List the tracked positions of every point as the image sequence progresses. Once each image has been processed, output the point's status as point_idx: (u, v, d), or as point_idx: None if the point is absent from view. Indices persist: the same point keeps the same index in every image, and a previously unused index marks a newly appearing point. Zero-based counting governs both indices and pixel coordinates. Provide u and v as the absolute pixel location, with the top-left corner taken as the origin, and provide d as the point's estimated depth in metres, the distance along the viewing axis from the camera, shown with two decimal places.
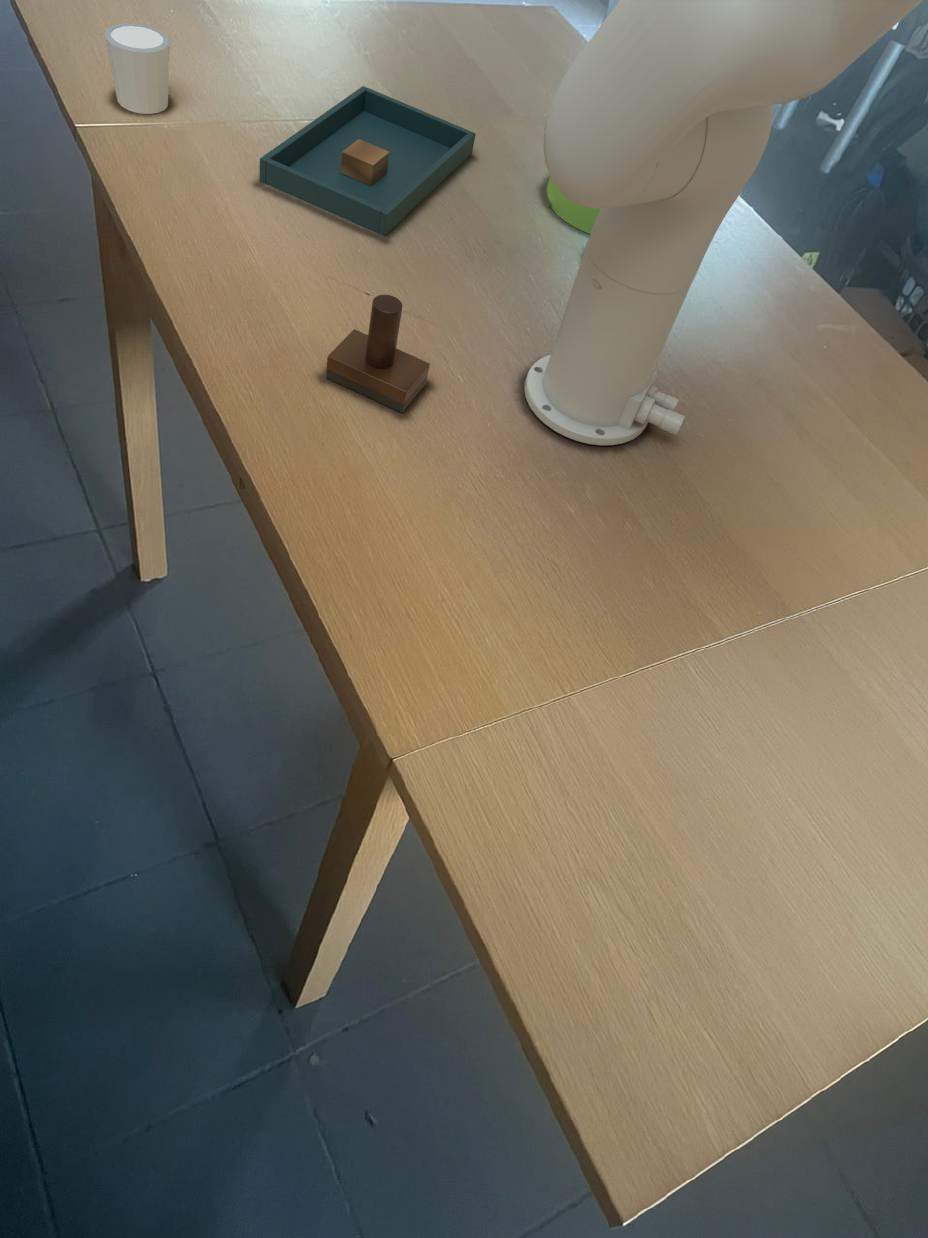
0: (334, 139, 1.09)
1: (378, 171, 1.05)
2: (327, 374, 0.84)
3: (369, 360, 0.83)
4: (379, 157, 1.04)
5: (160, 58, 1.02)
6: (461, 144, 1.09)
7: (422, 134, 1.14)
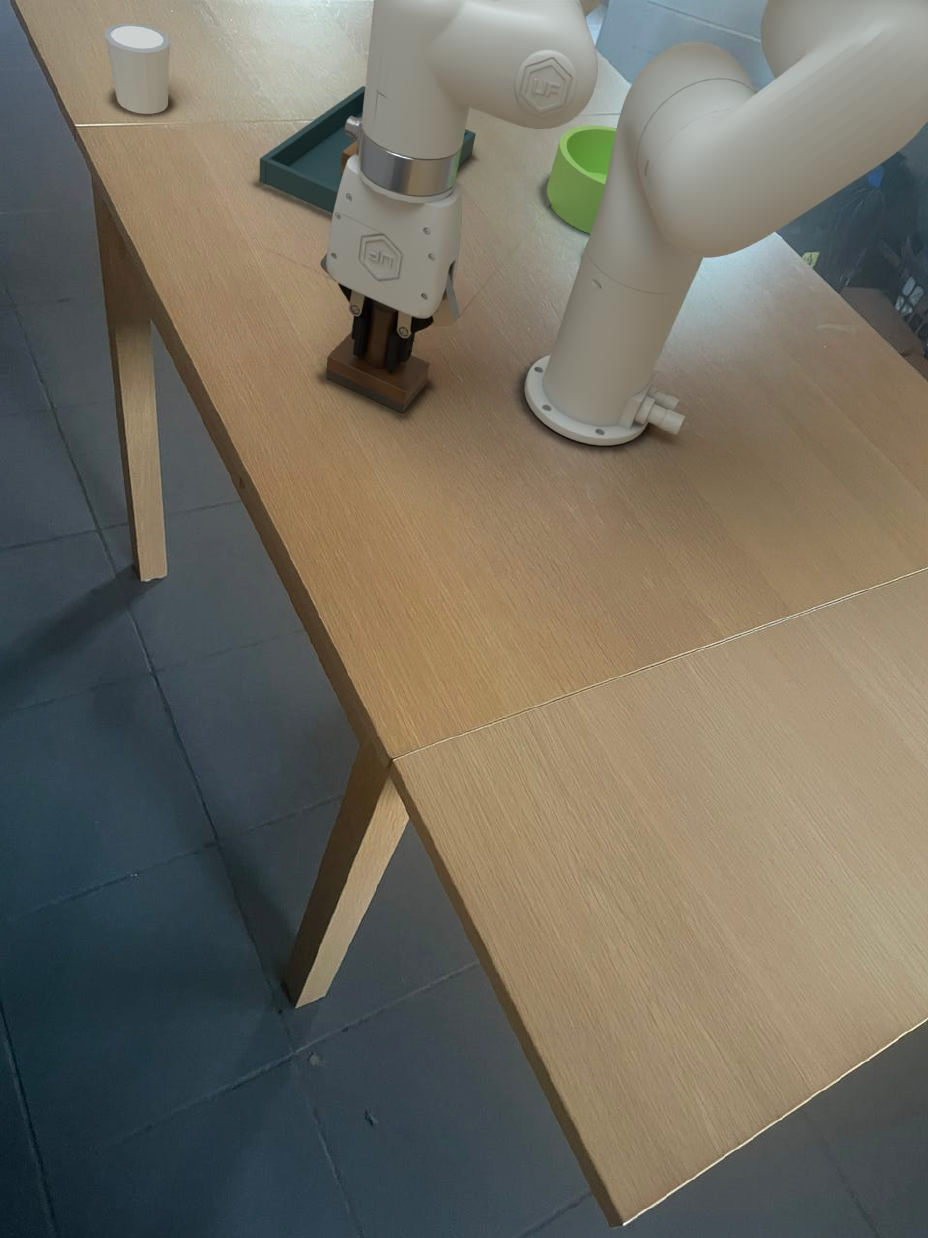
0: (334, 139, 1.09)
1: None
2: (327, 374, 0.84)
3: (369, 360, 0.83)
4: None
5: (160, 58, 1.02)
6: None
7: None
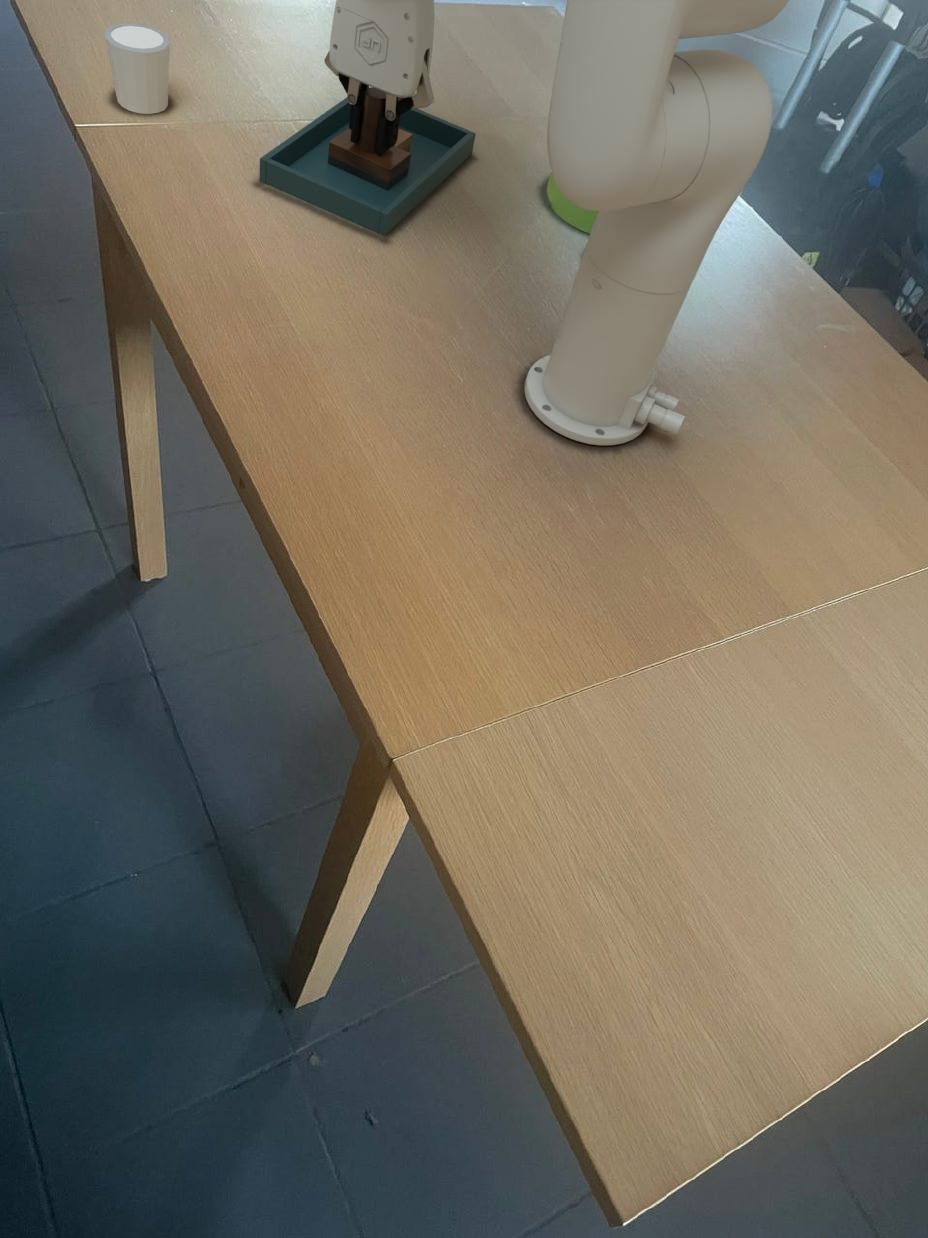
0: None
1: None
2: (328, 159, 1.05)
3: (362, 145, 1.04)
4: (402, 139, 1.07)
5: (160, 58, 1.02)
6: (461, 144, 1.09)
7: (422, 134, 1.14)
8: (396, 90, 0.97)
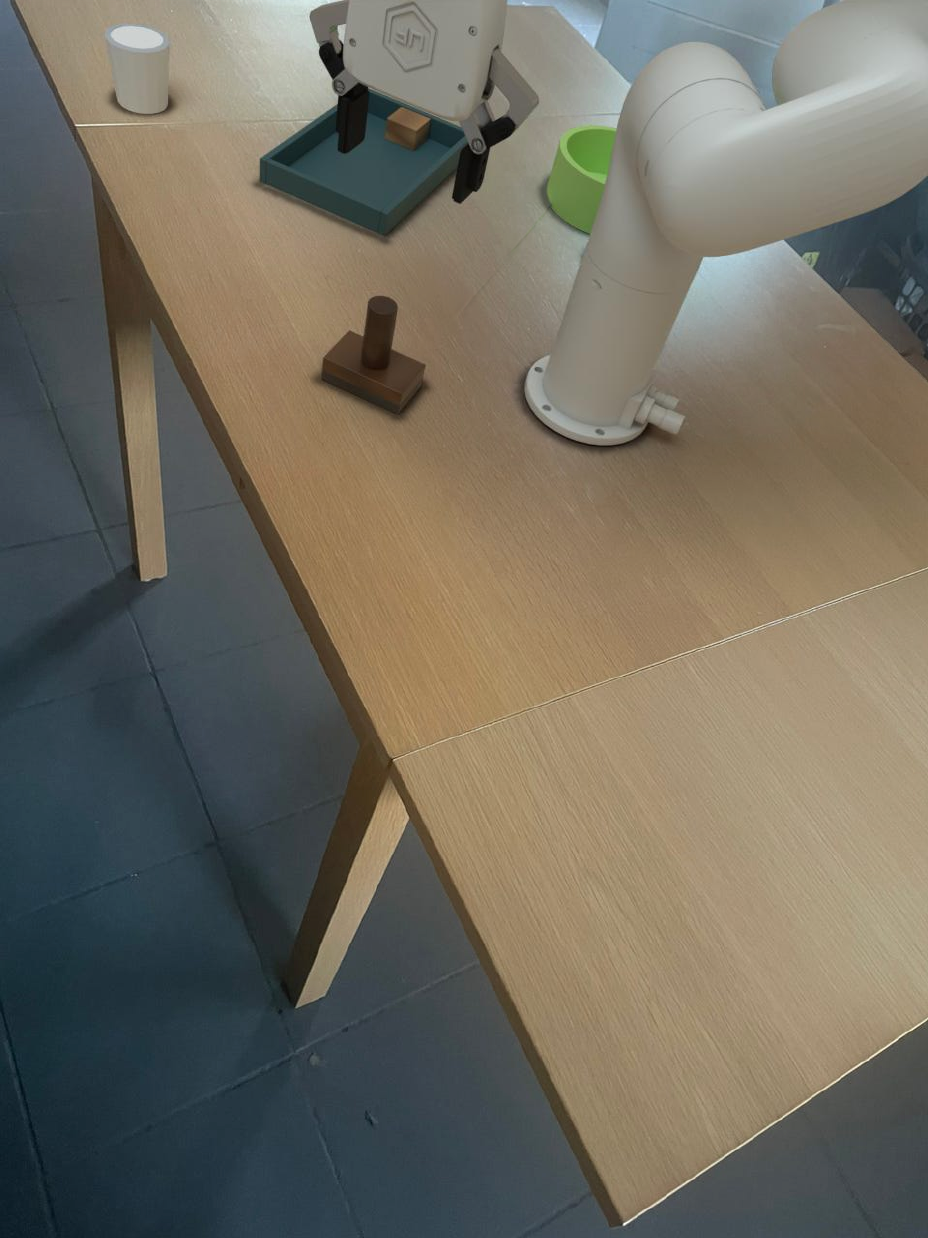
0: (334, 139, 1.09)
1: (420, 136, 1.11)
2: (322, 375, 0.84)
3: (365, 361, 0.83)
4: (422, 123, 1.10)
5: (160, 58, 1.02)
6: (461, 144, 1.09)
7: None
8: (446, 110, 0.63)
